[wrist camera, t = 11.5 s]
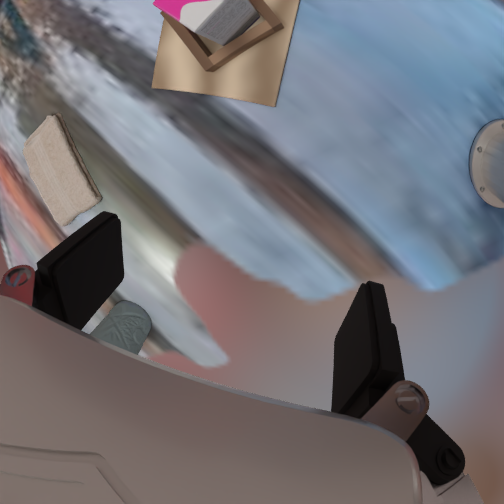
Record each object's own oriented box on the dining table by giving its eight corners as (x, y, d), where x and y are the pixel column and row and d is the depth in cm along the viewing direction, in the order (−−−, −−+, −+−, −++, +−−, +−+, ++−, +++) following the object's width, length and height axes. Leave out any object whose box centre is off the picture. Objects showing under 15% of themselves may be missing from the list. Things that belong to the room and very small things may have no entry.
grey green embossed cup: (161, 316, 56) (133, 363, 46) (147, 342, 61) (123, 385, 51) (116, 288, 55) (83, 330, 44) (108, 317, 60) (79, 357, 50)
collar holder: (305, -23, 24) (304, -35, 21) (275, 106, 34) (270, 108, 30) (180, -32, 25) (167, -41, 22) (155, 87, 35) (140, 89, 31)
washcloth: (60, 107, 38) (48, 110, 36) (107, 198, 45) (96, 205, 43) (27, 143, 43) (16, 148, 40) (69, 223, 50) (59, 231, 47)
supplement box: (262, 15, 27) (240, -13, 18) (228, 49, 30) (192, 36, 20) (226, -10, 26) (191, -42, 16) (194, 24, 29) (148, 6, 19)
